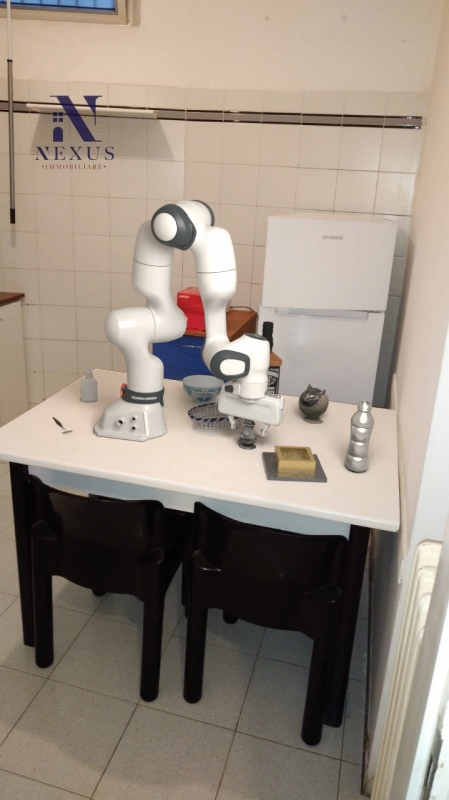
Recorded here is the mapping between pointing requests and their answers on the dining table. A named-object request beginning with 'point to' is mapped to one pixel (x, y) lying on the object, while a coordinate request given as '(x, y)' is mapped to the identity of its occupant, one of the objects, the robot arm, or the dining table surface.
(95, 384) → the eye dropper bottle
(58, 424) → the razor
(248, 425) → the salt shaker
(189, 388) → the chinaware
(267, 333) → the whiskey bottle
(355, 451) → the plastic bottle
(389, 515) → the dining table surface
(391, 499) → the dining table surface
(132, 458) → the dining table surface
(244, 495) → the dining table surface
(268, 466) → the collar plate
